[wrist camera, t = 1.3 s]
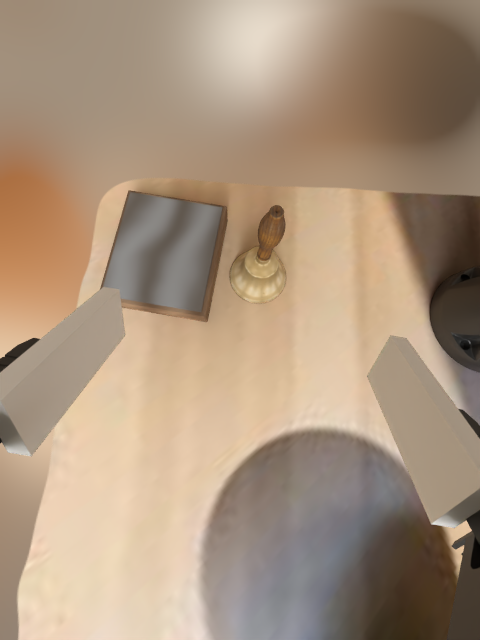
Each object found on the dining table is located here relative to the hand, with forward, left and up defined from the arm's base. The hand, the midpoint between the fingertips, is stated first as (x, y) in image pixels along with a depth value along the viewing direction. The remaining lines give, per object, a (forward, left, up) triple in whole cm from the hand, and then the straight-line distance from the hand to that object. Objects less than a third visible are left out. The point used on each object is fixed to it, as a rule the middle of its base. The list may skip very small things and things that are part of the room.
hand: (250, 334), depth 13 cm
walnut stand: (+12, -12, -24) cm, 29 cm away
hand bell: (-1, -12, -24) cm, 27 cm away
